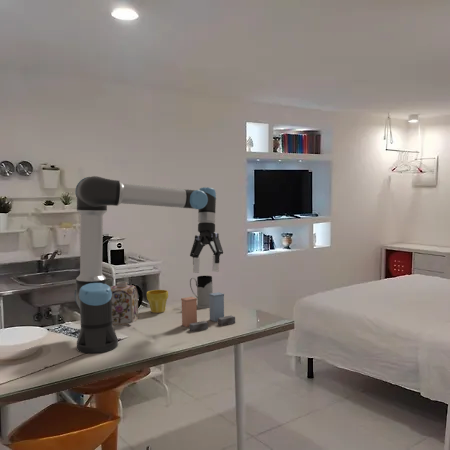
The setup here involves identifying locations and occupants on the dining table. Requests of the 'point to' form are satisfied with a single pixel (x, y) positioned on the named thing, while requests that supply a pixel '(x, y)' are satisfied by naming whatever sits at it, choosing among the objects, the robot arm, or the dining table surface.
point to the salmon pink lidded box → (189, 311)
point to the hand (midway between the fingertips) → (205, 272)
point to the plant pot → (157, 300)
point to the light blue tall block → (216, 306)
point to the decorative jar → (124, 304)
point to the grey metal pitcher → (203, 290)
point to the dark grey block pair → (204, 325)
